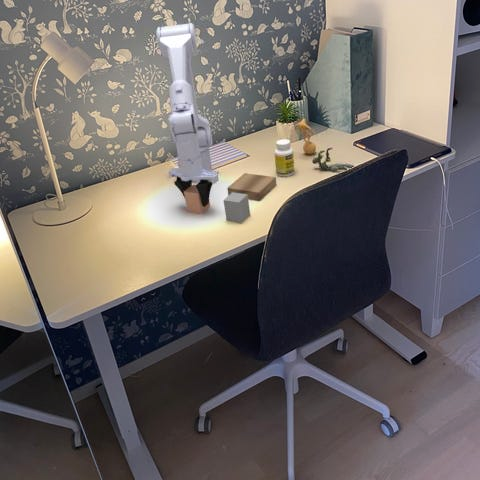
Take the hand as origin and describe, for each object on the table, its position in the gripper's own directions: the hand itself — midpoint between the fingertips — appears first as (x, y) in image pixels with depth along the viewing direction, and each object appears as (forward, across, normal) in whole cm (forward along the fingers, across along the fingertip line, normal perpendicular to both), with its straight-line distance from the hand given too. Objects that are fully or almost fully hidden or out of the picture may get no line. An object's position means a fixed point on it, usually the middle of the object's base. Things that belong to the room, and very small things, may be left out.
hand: (197, 203), depth 146 cm
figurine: (+2, +14, +41) cm, 43 cm away
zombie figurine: (+2, +27, +33) cm, 43 cm away
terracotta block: (+2, 0, 0) cm, 2 cm away
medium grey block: (+2, +13, -1) cm, 13 cm away
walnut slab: (+2, +9, +14) cm, 17 cm away
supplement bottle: (+2, +13, +27) cm, 30 cm away
